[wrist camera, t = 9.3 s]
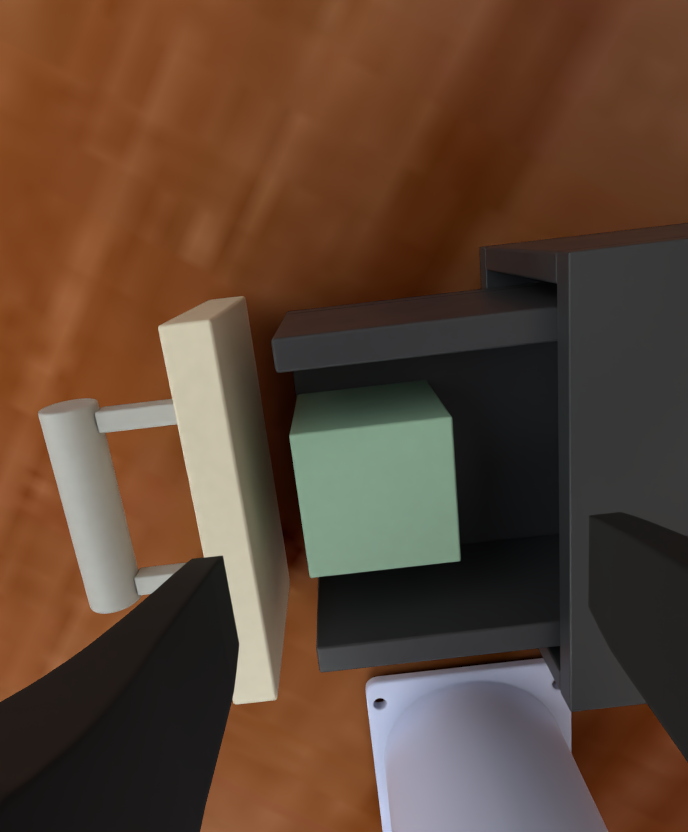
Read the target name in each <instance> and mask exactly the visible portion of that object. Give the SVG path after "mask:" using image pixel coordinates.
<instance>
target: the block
mask: <svg viewBox="0 0 688 832" xmlns="http://www.w3.org/2000/svg"><path fill="white" fill-rule="evenodd" d="M289 438H290V445H291V452H292V459H293V466H294V473H295V480H296V487H297V494H298V500H299V507H300V514H301V521H302V528H303V535H304V542H305V549H306V556H307V562H308V569H309V576H310V577H311V578H315V577H324V576H333V575H342V574H350V573H359V572H368V571H377V570H386V569H395V568H404V567H413V566H422V565H431V564H439V563H448V562H457V561H460V560H461V550H460V534H459V517H458V501H457V485H456V469H455V453H454V436H453V420H452V416H451V415H450V414H449V412H448V411H447V409H446V408H445V406H444V405H443V404H442V402H441V401H440V399H439V398H438V396H437V395H436V394H435V392H434V391H433V389H432V388H431V386H430V385H429V383H428V382H427V381H426V380H419V381H411V382H402V383H393V384H384V385H376V386H367V387H358V388H349V389H341V390H332V391H323V392H314V393H306V394H299V395H297V400H296V405H295V410H294V415H293V420H292V425H291V430H290V435H289Z"/></svg>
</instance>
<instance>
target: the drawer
mask: <svg viewBox="0 0 688 832" xmlns="http://www.w3.org/2000/svg"><path fill="white" fill-rule="evenodd" d="M158 330H159V335H160V340H161V345H162V350H163V355H164V360H165V365H166V370H167V375H168V380H169V385H170V390H171V395H172V399H167V400H159V401H150V402H141V403H133V404H124V405H115V406H106V407H102V408H101V409H100V408H99V403H98V401H97V400H96V399H89V398H85V399H75V400H69V401H64V402H60V403H56V404H53V405H50V406H47V407H45V408H43V409H41V410H40V411H39V412H38V416H39V419H40V423H41V427H42V430H43V434H44V438H45V441H46V445H47V449H48V453H49V456H50V460H51V464H52V467H53V471H54V475H55V479H56V482H57V486H58V490H59V493H60V497H61V501H62V505H63V508H64V512H65V516H66V519H67V523H68V527H69V531H70V534H71V538H72V542H73V545H74V549H75V553H76V557H77V560H78V564H79V568H80V571H81V575H82V579H83V583H84V586H85V590H86V594H87V597H88V601H89V605H90V608H91V609H92V610H93V611H94V612H97V613H113V612H117V611H120V610H123V609H125V608H127V607H129V606H131V605H132V604H134V603H135V602H136V601H138V600H139V598H140V597H141V595H146V594H152V593H153V592H154V591H155V590H156V589H157V588H158V587H160V586H161V585H162V584H163V583H164V582H165V581H166V580H167V579H169V578H170V577H171V576H172V575H173V574H174V573H175V572H176V571H178V570H179V569H180V568H181V567H182V566H183V565H185V564H186V563H179V564H170V565H161V566H153V567H144V568H140V569H139V571H138V567H137V563H136V559H135V555H134V550H133V546H132V542H131V538H130V534H129V529H128V525H127V521H126V517H125V513H124V508H123V504H122V500H121V496H120V492H119V487H118V483H117V479H116V475H115V471H114V466H113V462H112V458H111V454H110V450H109V445H108V441H107V437H106V432H115V431H124V430H133V429H141V428H150V427H159V426H168V425H176V424H177V425H178V430H179V435H180V440H181V445H182V450H183V455H184V460H185V465H186V470H187V474H188V479H189V484H190V489H191V494H192V499H193V504H194V509H195V514H196V519H197V524H198V529H199V534H200V539H201V544H202V549H203V554H204V558H205V557H214V556H223V559H224V564H225V569H226V575H227V580H228V586H229V591H230V596H231V602H232V607H233V613H234V618H235V623H236V629H237V634H238V639H239V653H238V662H237V672H236V680H235V687H234V694H233V698H232V699H233V703H234V704H245V703H254V702H263V701H272V700H276V699H277V696H278V687H279V678H280V669H281V660H282V651H283V642H284V633H285V624H286V615H287V605H288V596H289V587H290V579H289V573H288V566H287V560H286V553H285V547H284V541H283V534H282V528H281V521H280V515H279V509H278V502H277V496H276V489H275V483H274V477H273V470H272V464H271V457H270V451H269V445H268V438H267V432H266V425H265V419H264V413H263V406H262V400H261V393H260V387H259V381H258V374H257V368H256V361H255V355H254V349H253V342H252V336H251V329H250V323H249V317H248V310H247V304H246V298H245V297H244V296H239V297H230V298H221V299H213V300H208V301H206V302H204V303H202V304H200V305H198V306H196V307H195V308H193V309H191V310H189V311H187V312H185V313H183V314H181V315H179V316H177V317H175V318H173V319H171V320H169V321H167V322H165V323H163V324H161V325H160V326H159V328H158ZM271 344H272V351H273V357H274V364H275V370H276V372H278V373H282V372H291V371H293V378H294V385H295V392H296V400H297V395H299V394H306V393H314V392H323V391H332V390H341V389H349V388H358V387H367V386H376V385H384V384H393V383H402V382H411V381H419V380H426V381H427V382H428V383H429V385H430V386H431V388H432V389H433V391H434V392H435V394H436V395H437V396H438V398H439V399H440V401H441V402H442V404H443V405H444V406H445V408H446V409H447V411H448V412H449V414H450V415H451V416H452V420H453V436H454V453H455V469H456V485H457V501H458V517H459V534H460V550H461V560H460V561H457V562H448V563H439V564H431V565H422V566H413V567H404V568H395V569H386V570H377V571H368V572H359V573H350V574H342V575H333V576H324V577H318V609H317V645H316V650H317V656H318V663H319V670H320V672H330V671H339V670H348V669H357V668H366V667H375V666H384V665H393V664H402V663H411V662H420V661H429V660H438V659H447V658H456V657H465V656H474V655H483V654H492V653H501V652H510V651H519V650H528V649H537V648H546V647H555V646H560V560H559V445H558V330H557V284H556V283H551V282H539V283H530V284H522V285H513V286H504V287H496V288H487V289H478V290H470V291H461V292H452V293H444V294H435V295H426V296H418V297H409V298H400V299H392V300H383V301H374V302H366V303H357V304H348V305H340V306H331V307H322V308H314V309H305V310H296V311H288V312H287V313H286V315H285V317H284V319H283V320H282V322H281V324H280V326H279V327H278V329H277V331H276V333H275V335H274V336H273V338H272V341H271Z"/></svg>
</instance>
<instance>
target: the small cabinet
mask: <svg viewBox="0 0 688 832" xmlns="http://www.w3.org/2000/svg"><path fill="white" fill-rule="evenodd" d="M480 270H481V289H487V288H496V287H504V286H513V285H522V284H530V283H539V282H551V283H556V284H557V330H558V445H559V560H560V646H555V647H546V648H538V649H539V651H540V653H541V655H542V657H543V658H544V660H545V662H546V664H547V666H548V668H549V670H550V672H551V674H552V676H553V678H554V680H555V682H556V684H557V686H558V688H559V690H560V691H561V694H562V696H563V698H564V700H565V702H566V704H567V706H568V708H569V710H570V711H571V712H574V711H583V710H593V709H602V708H611V707H620V706H629V705H638V704H647V703H646V701H645V700H644V699H643V697H642V696H641V694H640V693H639V691H638V690H637V689H636V687H635V686H634V684H633V683H632V681H631V680H630V678H629V677H628V676H627V674H626V673H625V671H624V670H623V668H622V667H621V665H620V664H619V662H618V661H617V659H616V658H615V656H614V655H613V653H612V652H611V650H610V648H609V646H608V645H607V643H606V641H605V639H604V637H603V635H602V633H601V631H600V629H599V627H598V625H597V623H596V621H595V619H594V617H593V615H592V613H591V611H590V609H589V607H588V590H589V515H597V514H606V513H616V512H623V513H626V514H630V515H633V516H636V517H639V518H642V519H644V520H647V521H650V522H652V523H655V524H658V525H660V526H663V527H665V528H668V529H670V530H673V531H675V532H678V533H680V534H683V535H685V536H688V223H683V224H675V225H666V226H658V227H649V228H640V229H632V230H623V231H614V232H606V233H597V234H589V235H580V236H571V237H563V238H554V239H545V240H537V241H528V242H520V243H511V244H502V245H494V246H485V247H480Z"/></svg>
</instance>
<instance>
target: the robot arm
mask: <svg viewBox="0 0 688 832" xmlns="http://www.w3.org/2000/svg"><path fill="white" fill-rule="evenodd" d="M588 607H589V609H590V611H591V613H592V615H593V617H594V619H595V621H596V623H597V625H598V627H599V629H600V631H601V633H602V635H603V637H604V639H605V641H606V643H607V645H608V646H609V648H610V650H611V652H612V653H613V655H614V656H615V658H616V659H617V661H618V662H619V664H620V665H621V667H622V668H623V670H624V671H625V673H626V674H627V676H628V677H629V678H630V680H631V681H632V683H633V684H634V686H635V687H636V689H637V690H638V691H639V693H640V694H641V696H642V697H643V699H644V700H645V701H646V703H647V704H648V706H649V707H650V709H651V710H652V711H653V713H654V714H655V716H656V717H657V719H658V720H659V721H660V723H661V724H662V726H663V727H664V729H665V730H666V731H667V733H668V734H669V736H670V737H671V739H672V740H673V741H674V743H675V744H676V746H677V747H678V749H679V750H680V751H681V753H682V754H683V756H684V757H685V759H686V760H687V762H688V536H685V535H683V534H680V533H678V532H675V531H673V530H670V529H668V528H665V527H663V526H660V525H658V524H655V523H652V522H650V521H647V520H644V519H642V518H639V517H636V516H633V515H630V514H626V513H623V512H616V513H606V514H597V515H589V590H588ZM238 653H239V639H238V634H237V629H236V623H235V618H234V613H233V607H232V602H231V596H230V591H229V586H228V580H227V575H226V569H225V564H224V559H223V556H214V557H205V558H196V559H191V560H190V561H189V562H187V563H186V564H185V565H183V566H182V567H181V568H180V569H179V570H178V571H176V572H175V573H174V574H173V575H172V576H171V577H170V578H169V579H167V580H166V581H165V582H164V583H163V584H162V585H161V586H160V587H158V588H157V589H156V590H155V591H154V592H153V593H152V594H150V595H149V596H148V597H147V598H146V599H145V600H144V601H143V602H141V603H140V604H139V605H138V606H137V607H136V608H135V609H133V610H132V611H131V612H130V613H129V614H127V615H126V616H125V617H124V618H122V619H121V620H120V621H119V622H117V623H116V624H115V625H114V626H112V627H111V628H110V629H109V630H107V631H106V632H105V633H104V634H102V635H101V636H100V637H99V638H97V639H96V640H95V641H94V642H92V643H91V644H90V645H89V646H87V647H86V648H84V649H83V650H82V651H80V652H79V653H78V654H76V655H75V656H73V657H72V658H71V659H69V660H68V661H66V662H65V663H63V664H62V665H60V666H59V667H57V668H56V669H54V670H53V671H51V672H50V673H48V674H47V675H45V676H44V677H42V678H41V679H39V680H37V681H36V682H34V683H33V684H31V685H29V686H28V687H26V688H24V689H22V690H21V691H19V692H17V693H15V694H14V695H12V696H10V697H9V698H7V699H5V700H3V701H2V702H0V832H200V829H201V824H202V819H203V815H204V810H205V805H206V801H207V797H208V793H209V789H210V786H211V782H212V778H213V774H214V770H215V766H216V762H217V758H218V754H219V750H220V746H221V742H222V738H223V734H224V731H225V727H226V722H227V718H228V714H229V710H230V706H231V702H232V698H233V694H234V687H235V680H236V672H237V662H238ZM553 681H554V678H553V676H552V674H551V672H550V670H549V668H548V666H547V664H546V662H545V660H544V658H538V659H529V660H520V661H511V662H502V663H493V664H484V665H475V666H466V667H457V668H448V669H439V670H430V671H421V672H412V673H403V674H394V675H385V676H376V677H373V678H371V679H370V680H368V682H367V683H366V688H365V689H366V699H367V707H368V715H369V723H370V731H371V739H372V748H373V756H374V764H375V772H376V780H377V789H378V797H379V805H380V813H381V821H382V829H383V832H608V830H607V828H606V826H605V823H604V821H603V819H602V817H601V815H600V813H599V811H598V809H597V807H596V804H595V802H594V800H593V798H592V796H591V794H590V792H589V790H588V788H587V785H586V783H585V781H584V779H583V777H582V775H581V773H580V771H579V769H578V766H577V764H576V762H575V760H574V758H573V756H572V754H571V711H570V710H569V708H568V706H567V704H566V702H565V700H564V698H563V696H562V694H561V691H560V690H559V688H558V686H557V684H556V682H553ZM379 698H382V699H384V700H383V701H381V702H376V701H375V700H376V699H379Z"/></svg>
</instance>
